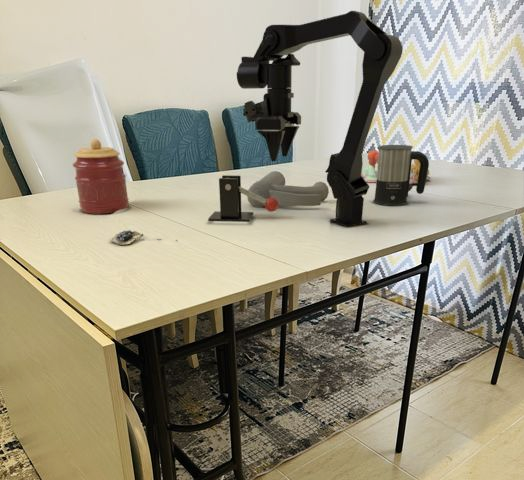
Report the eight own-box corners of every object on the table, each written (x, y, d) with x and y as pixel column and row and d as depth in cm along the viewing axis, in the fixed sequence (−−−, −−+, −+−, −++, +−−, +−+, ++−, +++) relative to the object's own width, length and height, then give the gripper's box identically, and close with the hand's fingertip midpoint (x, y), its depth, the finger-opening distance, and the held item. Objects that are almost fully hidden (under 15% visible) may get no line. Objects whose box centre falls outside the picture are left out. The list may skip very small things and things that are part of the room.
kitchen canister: (125, 214, 134) (116, 141, 126) (75, 215, 133) (62, 142, 125) (132, 203, 146) (124, 136, 138) (86, 204, 145) (75, 137, 137)
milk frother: (380, 206, 140) (386, 148, 133) (359, 195, 153) (363, 142, 146) (428, 204, 142) (437, 147, 135) (403, 193, 156) (409, 140, 149)
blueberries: (146, 234, 116) (145, 226, 115) (139, 244, 109) (138, 235, 108) (115, 235, 116) (114, 226, 115) (107, 245, 108) (106, 236, 108)
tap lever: (275, 212, 127) (281, 199, 126) (274, 215, 124) (280, 202, 123) (223, 187, 126) (228, 174, 124) (221, 190, 123) (226, 176, 121)
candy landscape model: (429, 175, 184) (433, 147, 180) (433, 187, 164) (437, 156, 159) (358, 173, 189) (360, 146, 185) (353, 184, 169) (356, 154, 164)
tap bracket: (253, 216, 131) (252, 174, 126) (249, 224, 124) (248, 180, 119) (214, 216, 132) (212, 174, 127) (208, 223, 125) (205, 179, 120)
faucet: (331, 197, 155) (321, 216, 133) (264, 192, 159) (243, 210, 136) (333, 173, 152) (324, 189, 129) (264, 169, 156) (243, 183, 133)
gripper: (259, 88, 131) (260, 153, 138) (232, 89, 115) (235, 162, 122) (302, 87, 128) (301, 154, 135) (280, 88, 112) (280, 164, 119)
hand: (279, 158), depth 128 cm, fingers open, 9 cm apart
